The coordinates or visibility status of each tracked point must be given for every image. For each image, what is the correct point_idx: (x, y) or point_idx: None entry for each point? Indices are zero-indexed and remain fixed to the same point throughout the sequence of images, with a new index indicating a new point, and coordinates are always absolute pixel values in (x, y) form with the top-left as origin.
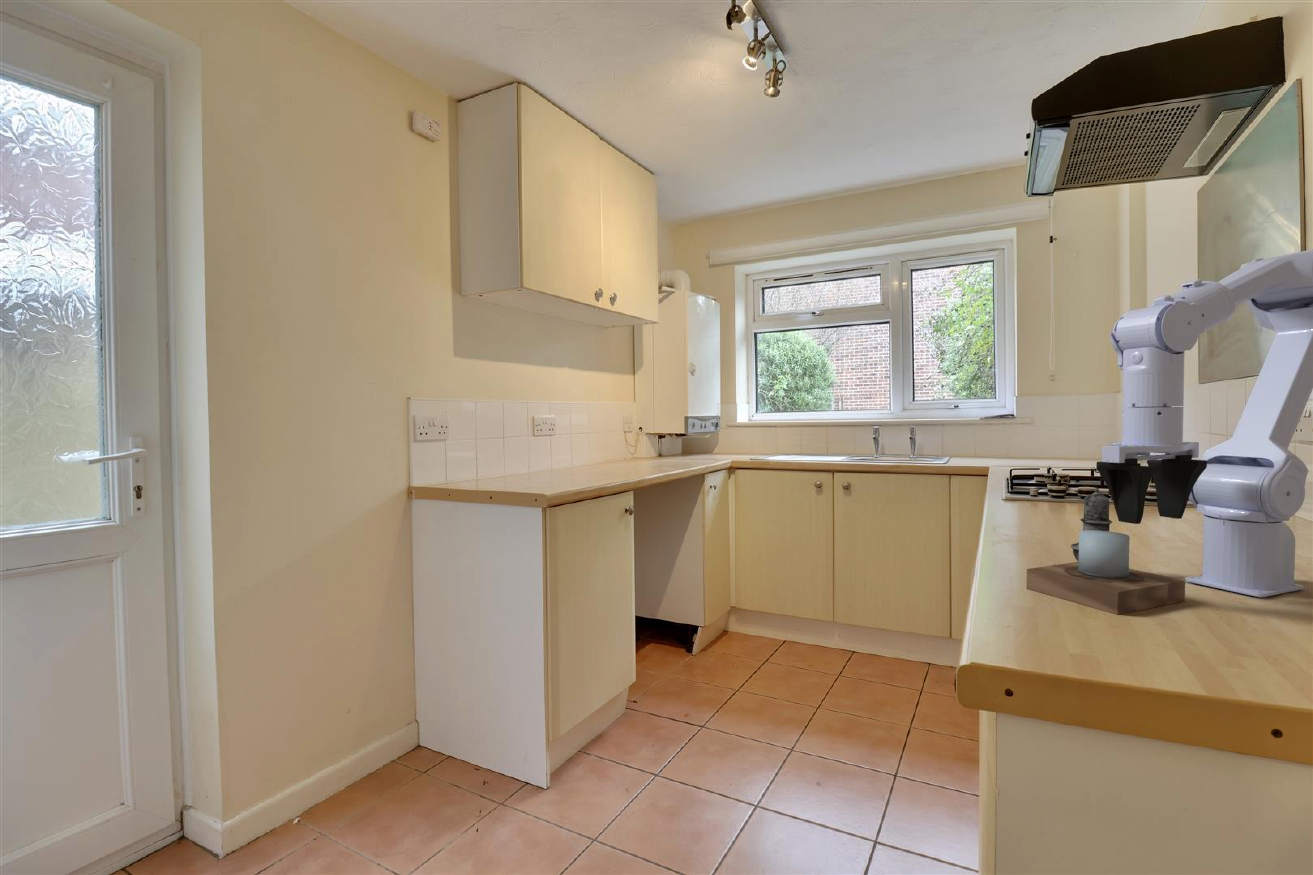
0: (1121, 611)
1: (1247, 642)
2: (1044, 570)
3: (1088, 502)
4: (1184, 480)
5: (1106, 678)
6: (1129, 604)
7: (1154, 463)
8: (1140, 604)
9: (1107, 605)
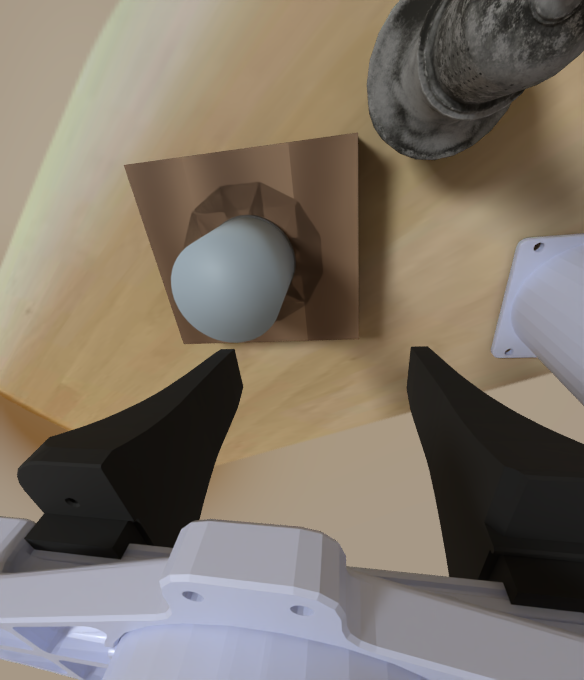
0: None
1: (256, 422)
2: (156, 190)
3: (461, 11)
4: (439, 505)
5: (62, 421)
6: None
7: (489, 494)
8: None
9: None
